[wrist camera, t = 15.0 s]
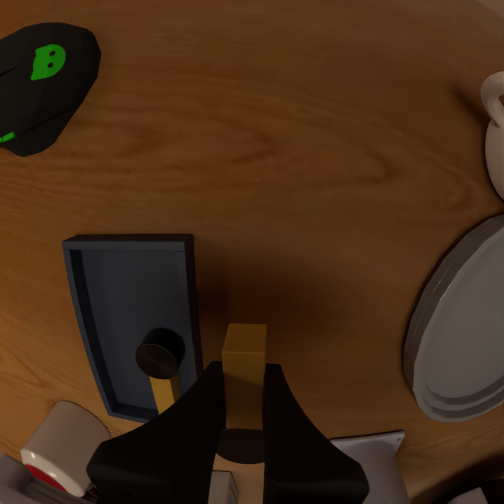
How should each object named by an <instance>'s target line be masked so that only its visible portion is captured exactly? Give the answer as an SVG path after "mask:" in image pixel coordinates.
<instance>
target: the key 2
mask: <svg viewBox="0 0 504 504" xmlns="http://www.w3.org/2000/svg"><path fill="white" fill-rule="evenodd" d="M266 344H267V325H265V324H238V323H230V324H229V327H228V331H227V334H226V338H225V342H224V346H223V350H222V362H223V378H224V394H225V409H226V417H225V421H224V425H223V429H222V433H221V436H220V440H219V444H218V447H217V451H216V453H217V454H218V455H219V456H221V457H222V458H224V459H226V460H228V461H231V462H235V463H240V464H257V463H262V462H265V457H264V442H263V426H262V407H263V381H264V374H265V370H266Z"/></svg>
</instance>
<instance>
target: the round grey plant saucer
mask: <svg viewBox="0 0 504 504" xmlns="http://www.w3.org/2000/svg"><path fill="white" fill-rule="evenodd" d="M404 375H405V378H406V381H407V383H408V386H409V389H410V392H411V393H412V395H413V397H414V399H415V401H416V403H417V405H418V407H419V408H420V409H421V410H422V411H423V412H424V413H425V414H426V415H427V416H428V417H429V418H431V419H434V420H437V421H440V422H443V423H452V422H463V421H467V420H470V419H473V418H476V417H479V416H481V415H483V414H485V413H487V412H489V411H491V410H493V409H494V408H496V407H498V406H499V405H501V404H502V403H503V402H504V214H502V215H499V216H495V217H492V218H489V219H488V220H486V221H485V222H483V223H482V224H481V225H479V226H478V227H476V228H475V229H473V230H472V231H470V232H469V233H467V235H465V236H464V237H463V239H462V240H461V241H460V242H459V243H458V244H457V245H456V246H455V247H454V248H453V250H452V251H451V252H450V253H449V254H448V255H447V256H446V257H445V258H444V259H443V261H442V262H441V264H440V266H439V267H438V269H437V270H436V272H435V273H434V275H433V276H432V278H431V279H430V281H429V282H428V284H427V285H426V287H425V289H424V291H423V294H422V296H421V298H420V301H419V303H418V305H417V307H416V309H415V312H414V314H413V316H412V318H411V322H410V326H409V330H408V334H407V338H406V342H405V346H404Z"/></svg>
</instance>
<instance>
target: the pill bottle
mask: <svg viewBox="0 0 504 504" xmlns="http://www.w3.org/2000/svg"><path fill="white" fill-rule="evenodd" d="M109 439H111V437H110V435H109V432H108V431H107V429H106V428H105V426H104V425H103V424H102V423H101V422H100V421H99V420H98V419H97V418H96V417H95V416H94V415H92V414H91V413H90V412H88V411H87V410H85V409H84V408H82V407H80V406H78V405H76V404H74V403H71V402H67V401H60V402H57V403H56V404H55V405H54V406H53V408H52V409H51V410H50V412H49V413H48V414H47V415H46V417H45V418H44V419H43V421H42V422H41V423H40V425H39V426H38V427H37V429H36V430H35V431H34V433H33V434H32V435H31V437H30V438H29V439H28V441H27V442H26V443H25V445H24V446H23V448H22V449H21V451H20V455H21V458H22V462H23V464H24V465H25V466H26V467H27V468H28V469H29V470H30V472H31V473H32V475H33V476H35V477H37V478H39V479H40V480H42V481H44V482H46V483H48V484H50V485H52V486H55V487H57V488H59V489H61V490H63V491H65V492H68V493H70V494H72V495H74V496H77V497H82V496H83V495H84V494H85V492H86V490H87V488H88V486H89V484H90V482H91V480H90V479H89V477H88V475H87V473H86V467H87V465H88V463H89V461H90V459H91V457H92V455H93V454H94V452H95V450H96V449H97V447H98V446H99V445H100V443H101V442H103V441H106V440H109Z"/></svg>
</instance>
